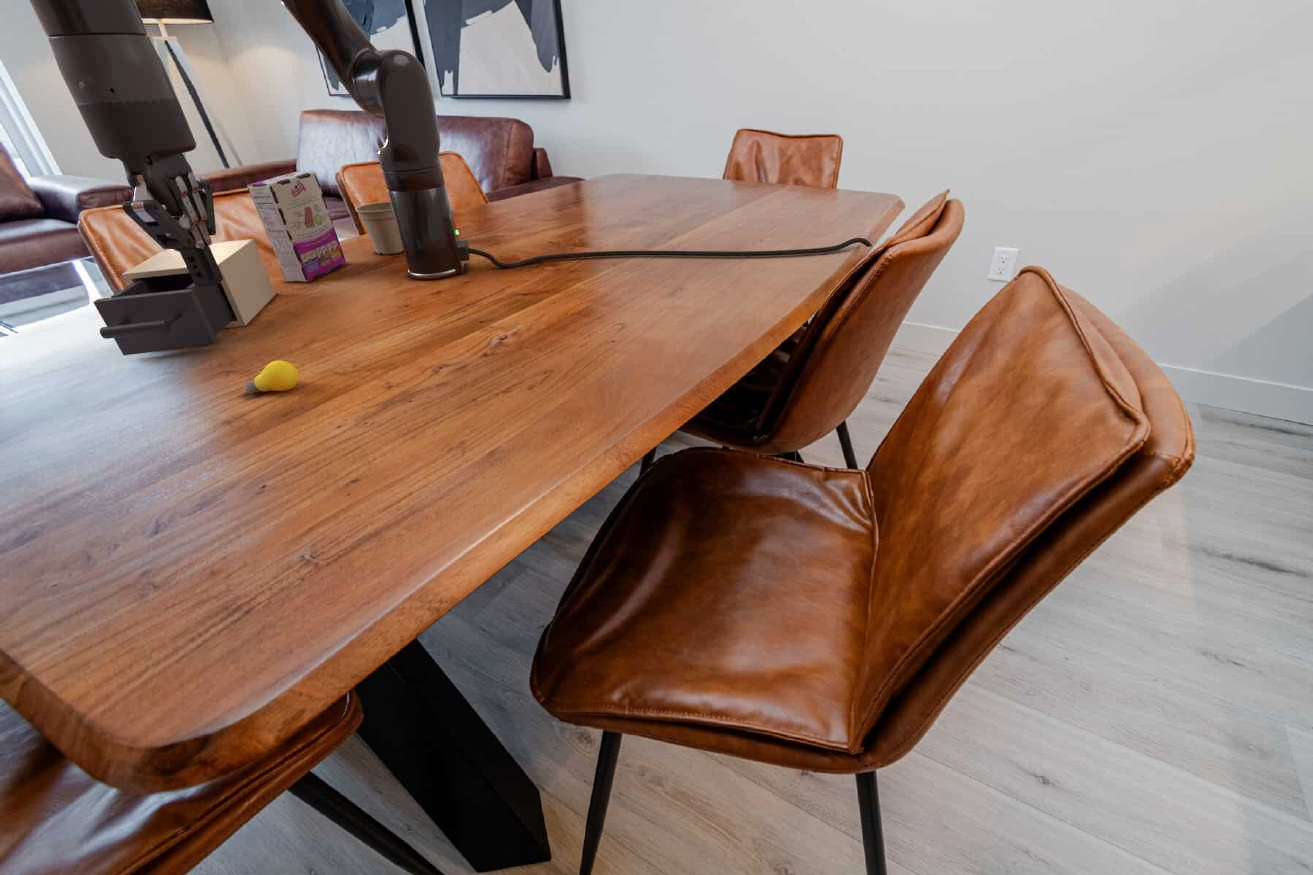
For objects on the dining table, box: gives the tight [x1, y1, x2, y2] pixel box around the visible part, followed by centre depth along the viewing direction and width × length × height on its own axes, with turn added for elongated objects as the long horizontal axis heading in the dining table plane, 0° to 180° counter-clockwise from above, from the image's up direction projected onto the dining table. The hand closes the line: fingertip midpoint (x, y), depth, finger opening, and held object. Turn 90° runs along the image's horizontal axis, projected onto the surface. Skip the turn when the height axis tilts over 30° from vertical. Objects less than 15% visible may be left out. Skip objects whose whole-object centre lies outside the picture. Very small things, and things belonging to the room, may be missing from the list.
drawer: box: [92, 273, 235, 356], centre depth 81 cm, size 18×11×7 cm, turn 13°
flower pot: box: [354, 200, 404, 255], centre depth 118 cm, size 9×9×9 cm
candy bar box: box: [246, 171, 347, 283], centre depth 105 cm, size 11×5×16 cm, turn 168°
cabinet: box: [121, 238, 276, 329], centre depth 91 cm, size 15×12×9 cm
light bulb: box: [244, 360, 299, 395], centre depth 69 cm, size 3×6×4 cm, turn 103°
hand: (210, 284), depth 63 cm, fingers closed
